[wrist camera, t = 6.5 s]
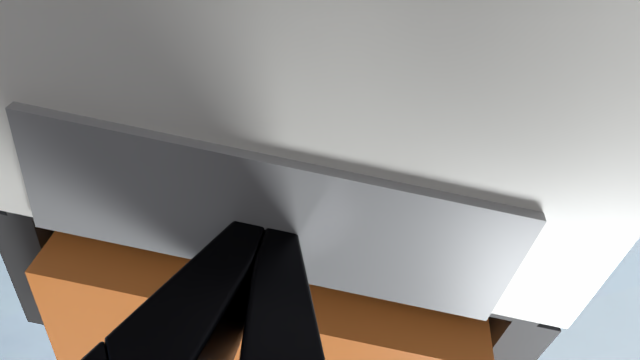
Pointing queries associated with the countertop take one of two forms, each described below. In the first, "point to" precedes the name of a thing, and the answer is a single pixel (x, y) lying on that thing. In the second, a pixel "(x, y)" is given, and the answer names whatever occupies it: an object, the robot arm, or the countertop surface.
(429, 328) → the push button
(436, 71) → the rocker switch
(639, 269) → the countertop surface
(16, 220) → the panel
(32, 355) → the countertop surface
